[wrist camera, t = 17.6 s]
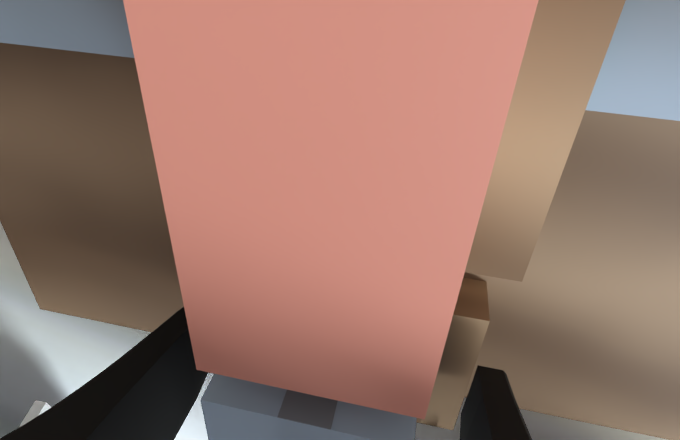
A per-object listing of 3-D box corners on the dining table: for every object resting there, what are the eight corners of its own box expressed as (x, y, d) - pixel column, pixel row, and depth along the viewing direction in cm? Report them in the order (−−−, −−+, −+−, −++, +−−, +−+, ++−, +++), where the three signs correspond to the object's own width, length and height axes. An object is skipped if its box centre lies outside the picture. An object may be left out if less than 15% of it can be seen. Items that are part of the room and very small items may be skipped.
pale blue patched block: (408, 353, 15) (387, 545, 10) (289, 329, 15) (221, 501, 11) (429, 256, 12) (415, 448, 8) (288, 232, 13) (200, 399, 9)
